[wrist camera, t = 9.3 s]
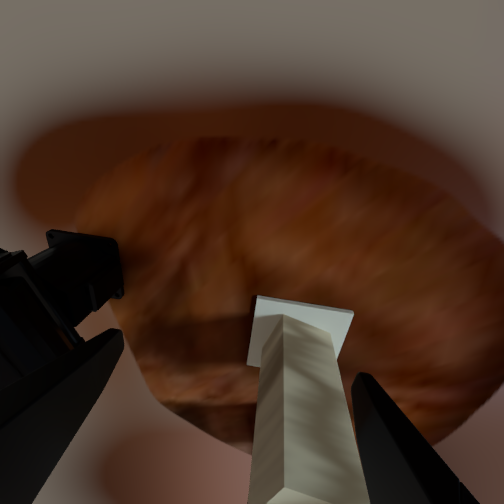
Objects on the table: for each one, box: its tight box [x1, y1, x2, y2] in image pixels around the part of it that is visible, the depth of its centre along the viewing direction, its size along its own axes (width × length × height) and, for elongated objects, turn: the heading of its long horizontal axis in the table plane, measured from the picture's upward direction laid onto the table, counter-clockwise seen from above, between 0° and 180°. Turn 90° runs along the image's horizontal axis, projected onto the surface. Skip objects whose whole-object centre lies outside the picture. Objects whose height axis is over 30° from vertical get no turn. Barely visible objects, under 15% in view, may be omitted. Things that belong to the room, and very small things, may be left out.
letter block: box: [248, 314, 370, 504], centre depth 20 cm, size 5×5×13 cm
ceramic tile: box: [247, 295, 354, 367], centre depth 26 cm, size 9×9×1 cm
